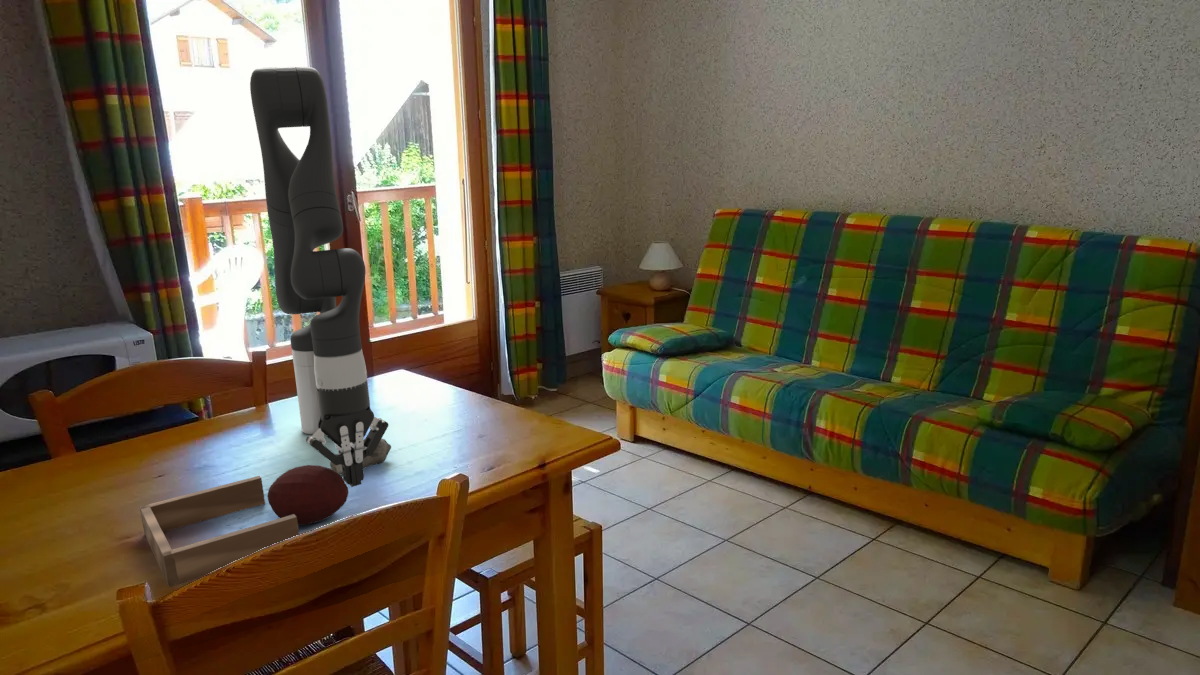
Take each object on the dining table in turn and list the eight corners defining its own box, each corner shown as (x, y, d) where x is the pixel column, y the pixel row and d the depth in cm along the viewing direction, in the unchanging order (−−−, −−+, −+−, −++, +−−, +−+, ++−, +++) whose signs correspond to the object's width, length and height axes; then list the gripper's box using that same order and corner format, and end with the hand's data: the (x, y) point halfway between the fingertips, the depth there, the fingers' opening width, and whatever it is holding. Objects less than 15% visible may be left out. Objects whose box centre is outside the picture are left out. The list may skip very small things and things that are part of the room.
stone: (333, 484, 141) (361, 457, 138) (319, 457, 142) (347, 431, 140) (373, 477, 150) (401, 452, 147) (360, 452, 151) (387, 428, 149)
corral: (144, 534, 123) (139, 506, 121) (263, 501, 133) (259, 475, 131) (169, 587, 107) (163, 556, 106) (300, 545, 117) (296, 516, 116)
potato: (267, 513, 128) (260, 463, 126) (339, 496, 133) (334, 448, 131) (278, 543, 118) (271, 490, 116) (356, 523, 124) (350, 472, 122)
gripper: (373, 366, 131) (384, 466, 136) (290, 383, 124) (304, 489, 128) (392, 375, 126) (403, 479, 130) (306, 394, 118) (321, 504, 122)
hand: (354, 484), depth 129 cm, fingers closed
